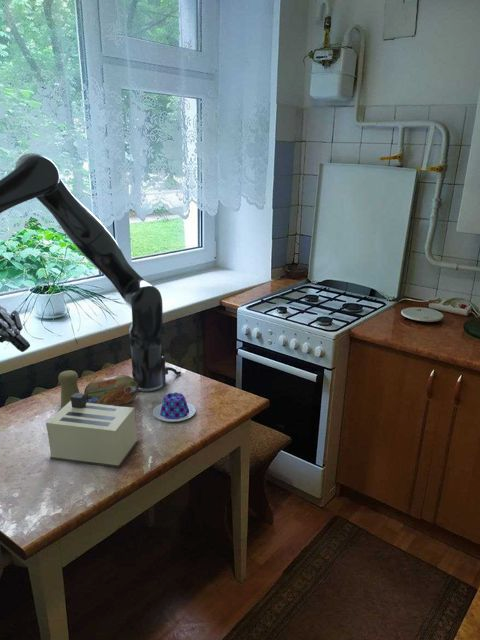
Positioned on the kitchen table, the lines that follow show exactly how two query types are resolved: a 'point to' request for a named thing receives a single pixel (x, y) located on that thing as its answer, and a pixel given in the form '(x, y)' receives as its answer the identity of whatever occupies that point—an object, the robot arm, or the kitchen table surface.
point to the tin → (111, 390)
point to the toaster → (92, 434)
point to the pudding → (174, 408)
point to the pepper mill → (68, 386)
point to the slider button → (78, 400)
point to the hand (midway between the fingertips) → (26, 348)
